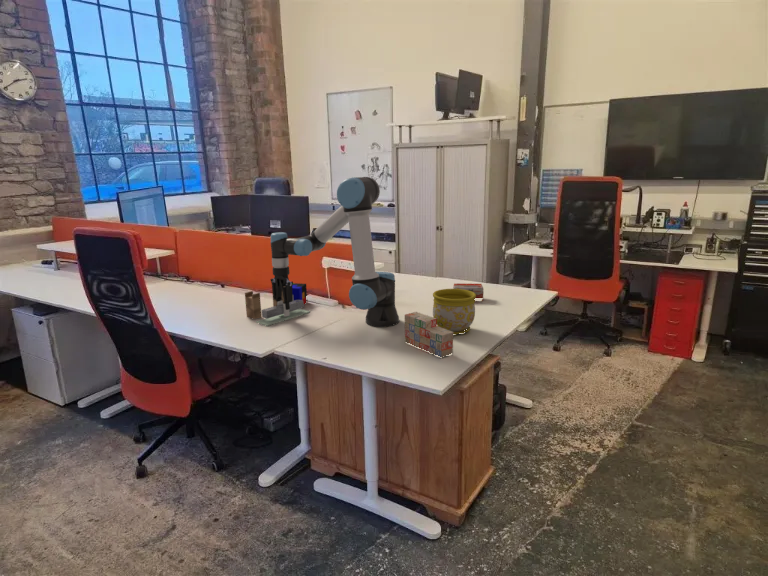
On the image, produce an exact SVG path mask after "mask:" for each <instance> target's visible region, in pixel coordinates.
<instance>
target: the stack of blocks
mask: <svg viewBox="0 0 768 576" xmlns="http://www.w3.org/2000/svg"><path fill="white" fill-rule="evenodd" d="M405 342H407V343H410V344H412V345H414V346H416V347H419V348H421V349H424V350H426V351H429V352H430V353H433V354H435V355H438V356H440V357H443V356H446V355H449V354H451V353H453V352H454V351H453V350H454V349H453V348H454V335H453V332H452V331H449V330H447V329H444V328H441V327H438V326H437V319H436V318H434V317H433V316H430V315H428V314H427V315H426V314H424V313H421V312H418V311H414V312H410V313H406V314H404V343H405Z"/></svg>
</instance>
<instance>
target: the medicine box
mask: <svg viewBox="0 0 768 576" xmlns="http://www.w3.org/2000/svg"><path fill="white" fill-rule="evenodd" d="M452 289H464V290H469V291H472V292H474V293H475V294H476V298H483V299H484V286H483V284H482V283H453V288H452Z"/></svg>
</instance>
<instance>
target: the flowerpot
mask: <svg viewBox="0 0 768 576" xmlns="http://www.w3.org/2000/svg"><path fill="white" fill-rule="evenodd" d="M432 296H433V305H432V306H433V307H432V317H433V318H436V319H437V326H438V327H441V328H444V329H447V330H449V331H452V332H453V334H459V333H464V332H467V331H468V332H469V331H471V326H472V324H473V322H474V320H475V316H476V304H475V303H476V302H475V300H474V299H475V298H476V294H475V293H474V292H472V291H469V290H464V289H453V288H442V289H438V290H436V291H434V292H433V293H432ZM466 329H467V330H466ZM464 330H465V331H464ZM468 332H467V333H468Z"/></svg>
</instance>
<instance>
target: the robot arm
mask: <svg viewBox="0 0 768 576" xmlns="http://www.w3.org/2000/svg"><path fill="white" fill-rule="evenodd" d="M380 190H381V188H380V186H379V183H378V182H377V181H376V180H375V179H374V178H372V177H370V176H369V177H368V176H363V177H362V176H360V177H353V176H352V177H349V178H346V179H344V180H342V181H341V182H340V183H339V185H338V187H337V190H336V199H337V202H338V203H339V204H340V206H339V207H338V208H337V209H336V210H334V212H333V213H332V214H331V215H330V216H329V217H327V219H325V221H323V222H322V223H321V224H320V225H319V226H318V227H317V228H316V229H315V230H313V232H311V233H310V234H309V235H305V236H301V237H294V238H293V237H288V233H287V232H282V231H280V232H278V231H277V232H272V233H271V234H270V248H271V266H272V275H273V276H274V277H273V278H270V282H271V289H272V290H271V292H272V291H273V293H272V300H273V299H275V300H276V301H277V305H281V304H283V308H284V317H286V316H290V315H289V309H290V306H289V303H290V302H292V301H293V295H292V286H293V283H294V282H293V281H290V280H289V275H290V267H289V265H290V263H289V262H290V261H289V255H291V256H299V257H302V256H303V257H305V256H306V257H307V256H310V254H311V253H312V252H315V251H320V250H323V248H324V247H325V246H326V244H327V242H328V241H329V240H330V239H331V238H333V237H334V236H335V235H336V234H337V233H338V232H339V231H340V230H342V228H344V227H345V226H346V225H347V224H348V228H349V236H350V242H351V244H350V245H351V250H352V261H353V270H354V275H353V276H352V277H351V283H352V286H350V288H349V291H348V298H349V300H350V302H351V304H352V306H354V307H355V308H357V309H359V310H363V311H364V310H365V311H366V310H367V312H366V316H365V323H366V324H367V325H368V326H371V325H372V326H371V327H378V326H386V327H390V326H389V325H392V326H394V325H393V324H395V325H397V324H398V323H400V316H399V314H398V310H397V307H396V278H395V277H396V276H395V273H392V272H391V271H390V272H389V271H376V268H375V259H374V250H373V249H374V247H373V239H372V232H371V230H372V229H371V221H370V213H371V212H372V210H373V205H374V204H375V203H376V202H377V200H378V199H379V197H380V193H381V191H380ZM284 286H285V287H284ZM282 292H283V297H284V302H283V301H281V300H283V299H282ZM281 315H282V314H281ZM396 323H397V324H396Z"/></svg>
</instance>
